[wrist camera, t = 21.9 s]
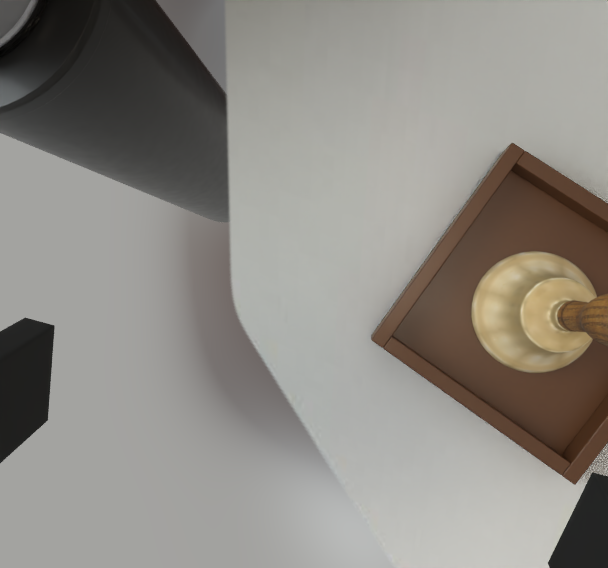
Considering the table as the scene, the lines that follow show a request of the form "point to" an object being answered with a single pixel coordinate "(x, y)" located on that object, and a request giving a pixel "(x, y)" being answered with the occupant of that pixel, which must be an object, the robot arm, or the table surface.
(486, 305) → the hand bell
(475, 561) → the table surface
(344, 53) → the table surface
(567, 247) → the tray
